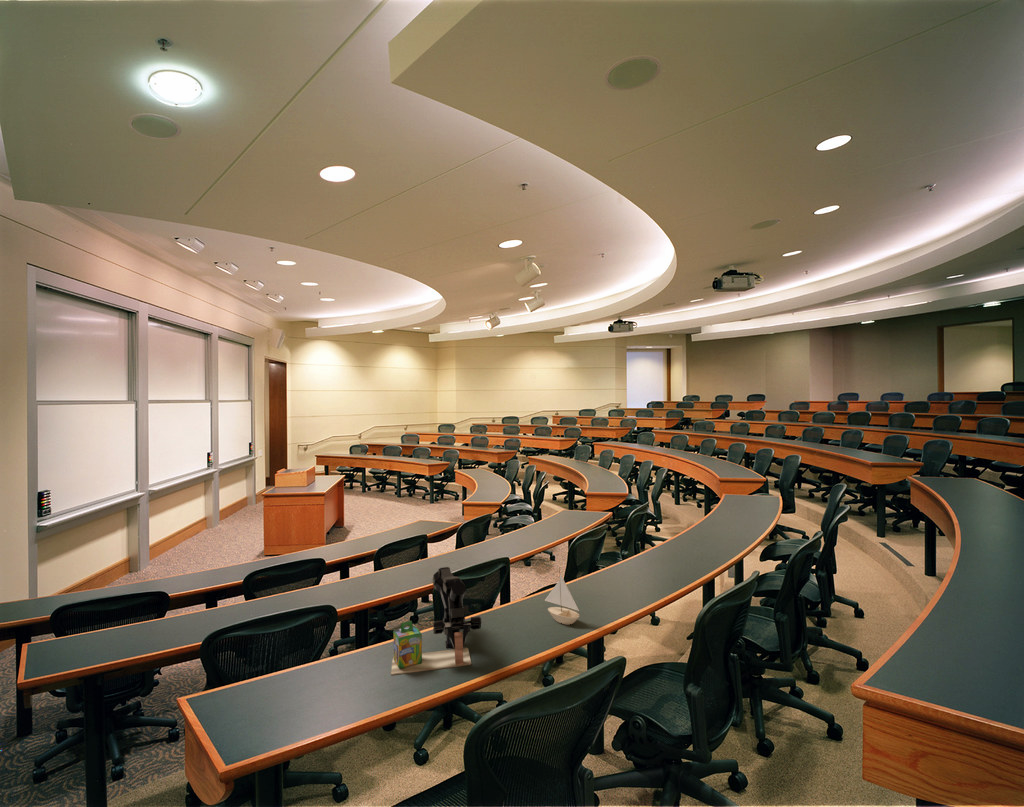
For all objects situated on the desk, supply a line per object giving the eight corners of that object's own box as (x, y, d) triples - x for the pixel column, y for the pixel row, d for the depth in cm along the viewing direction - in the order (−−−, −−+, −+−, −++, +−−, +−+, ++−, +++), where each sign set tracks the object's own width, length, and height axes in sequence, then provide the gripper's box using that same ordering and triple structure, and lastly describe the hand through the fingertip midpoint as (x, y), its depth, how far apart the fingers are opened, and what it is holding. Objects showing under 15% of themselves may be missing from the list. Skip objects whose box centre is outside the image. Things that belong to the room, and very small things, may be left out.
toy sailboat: (583, 568, 220) (571, 572, 214) (586, 624, 218) (574, 630, 212) (549, 560, 235) (537, 564, 229) (551, 613, 233) (539, 618, 227)
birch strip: (393, 658, 192) (392, 628, 193) (467, 648, 198) (466, 620, 199) (390, 675, 178) (390, 643, 179) (471, 664, 184) (470, 633, 185)
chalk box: (399, 669, 181) (398, 629, 182) (393, 660, 189) (392, 621, 190) (423, 663, 186) (422, 624, 186) (416, 654, 194) (415, 616, 195)
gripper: (432, 600, 188) (434, 641, 177) (480, 595, 192) (484, 635, 180) (432, 613, 195) (434, 653, 184) (478, 608, 199) (482, 647, 188)
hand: (459, 647), depth 184 cm, fingers closed on birch strip, 3 cm apart
